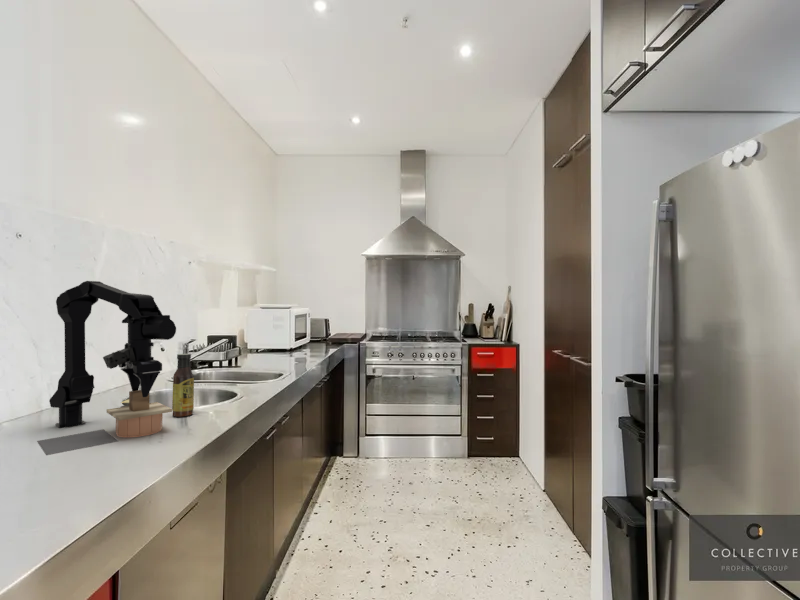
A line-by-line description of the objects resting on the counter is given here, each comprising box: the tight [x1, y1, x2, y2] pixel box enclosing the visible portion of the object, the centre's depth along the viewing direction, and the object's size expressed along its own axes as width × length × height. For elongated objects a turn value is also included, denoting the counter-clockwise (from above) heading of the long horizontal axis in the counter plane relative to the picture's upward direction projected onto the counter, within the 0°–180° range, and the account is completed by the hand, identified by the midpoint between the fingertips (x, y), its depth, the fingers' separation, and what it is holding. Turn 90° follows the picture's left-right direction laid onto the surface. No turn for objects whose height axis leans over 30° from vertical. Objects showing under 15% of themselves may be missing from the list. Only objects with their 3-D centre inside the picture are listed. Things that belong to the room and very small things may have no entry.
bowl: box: [115, 413, 163, 438], centre depth 126 cm, size 11×11×6 cm
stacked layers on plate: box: [120, 398, 129, 407], centre depth 145 cm, size 10×9×6 cm
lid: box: [106, 389, 173, 421], centre depth 126 cm, size 13×13×6 cm
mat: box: [36, 428, 119, 456], centre depth 117 cm, size 16×15×1 cm
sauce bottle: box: [171, 353, 195, 418], centre depth 146 cm, size 6×6×20 cm
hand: (139, 394), depth 126 cm, fingers open, 9 cm apart
